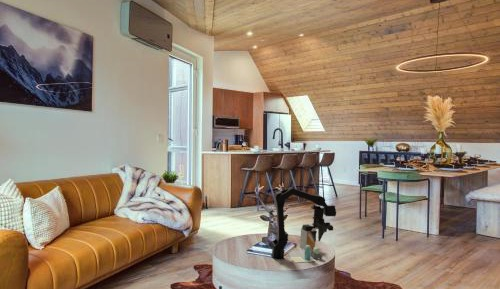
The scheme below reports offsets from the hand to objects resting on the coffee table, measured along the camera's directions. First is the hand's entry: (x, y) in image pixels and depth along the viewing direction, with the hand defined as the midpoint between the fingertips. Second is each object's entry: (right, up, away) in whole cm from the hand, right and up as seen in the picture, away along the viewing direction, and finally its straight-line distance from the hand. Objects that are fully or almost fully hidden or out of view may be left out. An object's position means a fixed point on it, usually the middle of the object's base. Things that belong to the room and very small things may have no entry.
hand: (317, 241), depth 221 cm
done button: (0, -9, 0) cm, 9 cm away
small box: (-3, -10, +18) cm, 21 cm away
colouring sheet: (-10, -10, -5) cm, 15 cm away
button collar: (0, -10, 0) cm, 10 cm away
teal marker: (-7, -9, -4) cm, 12 cm away
